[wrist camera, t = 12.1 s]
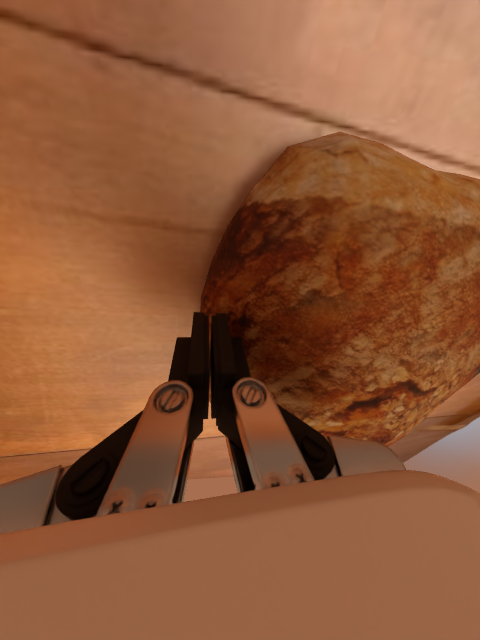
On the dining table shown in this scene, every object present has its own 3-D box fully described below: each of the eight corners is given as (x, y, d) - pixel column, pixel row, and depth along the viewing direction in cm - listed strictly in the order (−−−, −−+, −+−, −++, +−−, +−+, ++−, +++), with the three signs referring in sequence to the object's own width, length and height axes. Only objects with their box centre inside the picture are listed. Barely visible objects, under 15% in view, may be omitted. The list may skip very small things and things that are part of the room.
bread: (199, 372, 19) (196, 508, 11) (202, 120, 9) (195, -513, 1) (367, 366, 23) (454, 460, 15) (498, 189, 13) (968, 189, 5)
